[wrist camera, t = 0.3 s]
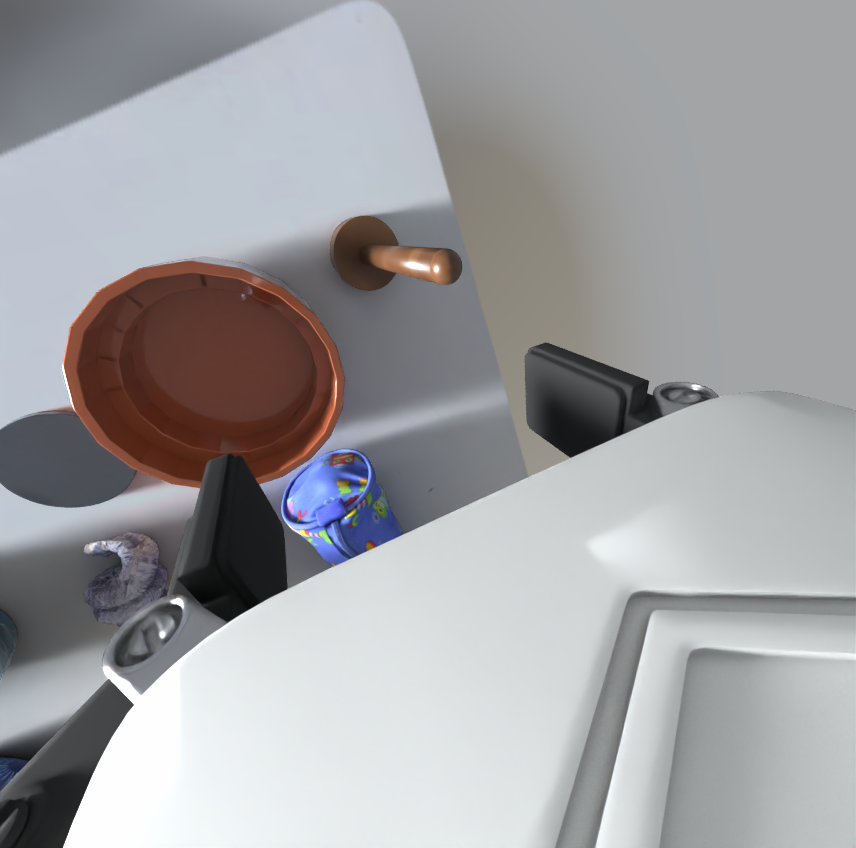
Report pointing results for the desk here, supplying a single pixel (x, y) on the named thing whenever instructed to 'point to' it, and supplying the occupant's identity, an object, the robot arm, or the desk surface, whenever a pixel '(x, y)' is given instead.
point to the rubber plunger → (386, 256)
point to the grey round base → (59, 462)
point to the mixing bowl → (203, 370)
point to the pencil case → (339, 506)
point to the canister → (6, 641)
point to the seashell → (126, 578)
